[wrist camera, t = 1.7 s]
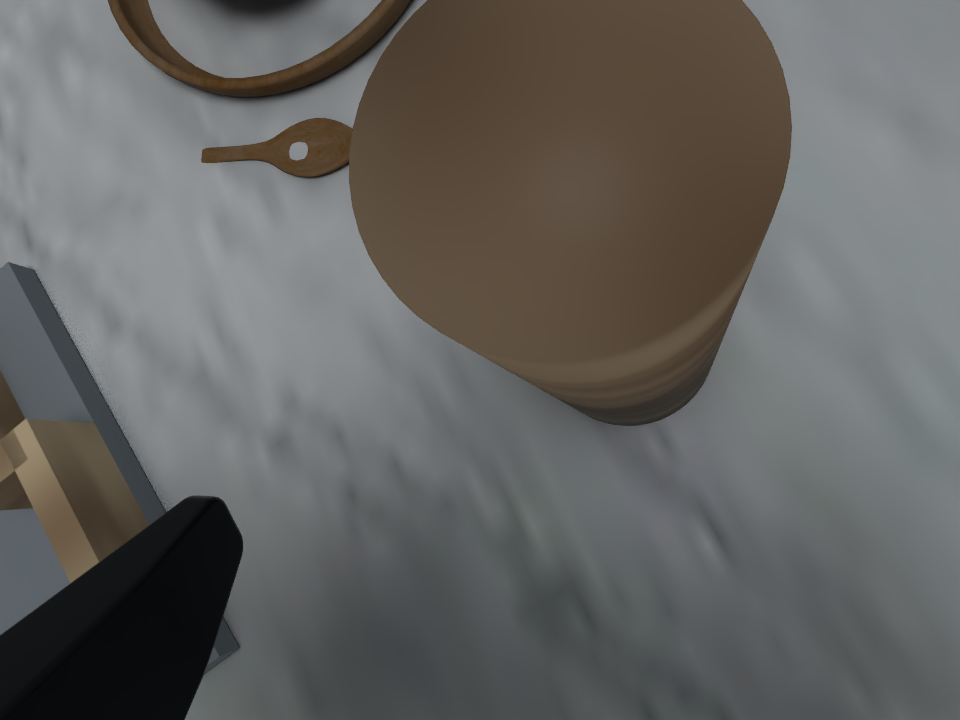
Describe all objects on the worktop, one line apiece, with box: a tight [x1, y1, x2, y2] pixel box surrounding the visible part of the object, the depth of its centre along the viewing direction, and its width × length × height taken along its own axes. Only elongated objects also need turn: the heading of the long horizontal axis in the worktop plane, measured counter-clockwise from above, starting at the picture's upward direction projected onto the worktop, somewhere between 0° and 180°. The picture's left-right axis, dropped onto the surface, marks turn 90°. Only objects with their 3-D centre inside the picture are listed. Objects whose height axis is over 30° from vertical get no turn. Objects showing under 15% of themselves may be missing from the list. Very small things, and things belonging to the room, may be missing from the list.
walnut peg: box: [349, 0, 792, 426], centre depth 14 cm, size 4×4×13 cm
